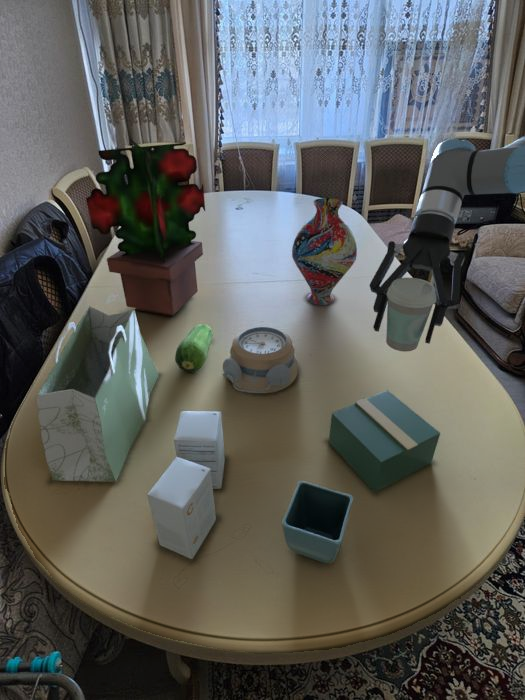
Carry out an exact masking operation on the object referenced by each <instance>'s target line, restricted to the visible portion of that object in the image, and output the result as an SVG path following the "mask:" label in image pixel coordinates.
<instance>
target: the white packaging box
mask: <svg viewBox="0 0 525 700" xmlns="http://www.w3.org/2000/svg"><path fill="white" fill-rule="evenodd" d="M174 433H175V434H174V437H173V443H174V444H173V445H174V448H175V455H176V457H179V458H182V459H185V460H188V461H191V462H193V463H196V464H199V465H202V466H204V467H207V468H210V469H211V478H212V487H213V490H220V489H222V485H223V479H224V471H225V470H224V469H225V461H226V457H225V446H224V433H223V421H222V411H207V410H206V411H204V410H203V411H201V410H200V411H199V410H195V411H193V410H186V411H184V410H183V411H180V414H179V418H178V422H177V426H176V429H175V432H174Z"/></svg>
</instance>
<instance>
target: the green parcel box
mask: <svg viewBox="0 0 525 700" xmlns="http://www.w3.org/2000/svg"><path fill="white" fill-rule="evenodd" d="M330 417H331V418H330V425H329V426H330V427H329V436H328V444H329V445H330V446H331V447H332V448H333V450H335V451H336V452H337V453H338V455H340V457H341V458H342V459H343V461H345V462H346V463H347V464H348V465H349V466H350V468H352V470H353V471H354V472H355V473H356V474H357V475H358V476H359V477H360V478H361V479H362V481H364V483H365V484H366V485H367V486H368V487H369V488H370V489H371V490H372V491H373V493H377V492H379V491H381V490H383V489H385V488H387V487H388V486H391V485H392V484H395V483H396V482H398V481H399V480H403V478H405V477H408V476H410V475H411V474H413V473H415V472H417V471H419V470H420V469H423V468H424V467H426V466H428V465H430V464H432V462H433V458H434V456H435V452H436V450H437V446H438V445H437V444H438V442H439V439H440V436H441V432H440V431H438V429H436V428H435V427H434V426H432V424H430V423H429V422H427V421H426V420H425V419H424V418H423V417H422V416H420V415H419V414H418V413H416V411H414V410H412V408H410V407H409V406H408V405H407V404H405V403H404V402H403V401H402V400H400V399H399V398H398V397H397V396H395V395H394V394H393V393H392V392H391V391H390V390H388V389H387V390H384V391H381V392H380V393H377V394H374V395H372V396H369V397H368V398H365V397H363V398H360V399H357V400H356V401H354V403H353V404H351V405H348V406H346V407H343V408H340V409H339V410H336V411H334V412H331V416H330Z"/></svg>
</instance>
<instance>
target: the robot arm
mask: <svg viewBox="0 0 525 700" xmlns="http://www.w3.org/2000/svg"><path fill="white" fill-rule="evenodd" d="M424 180H425V181H424V185H423V188H422V192H421V194H420V197H419V200H418V203H417V207H416V210H415V213H414V218H413V220H412V223H411V226H410V230H409V232H408V233H409V234H408V237H407V239H406V240H405V241H404V242H403V243H396V242H395V241H394V240H391V241H389V242H388V244H387V250H386V254H385V255H384V257H383V259H382V260H381V263H380V265H379V266H378V268H377V270H376V272H375V273H374V276H373V278H371V281H370V283H369V289H370V292H371V293H374V294H375V295H376V297H375V300H374V304H373V312H374V313H377V314H376V316H375V320H374V323H373V330H374V332H377V333H378V332H379V331H380V328H381V325H382V322H383V319H384V315H385V311H386V308H387V306H388V297H387V291H388V288H389V287H390V286H391V284H392V282H393V281H394V280H396V279H400V278H404V276H405V275H406V274H407V273H409V271H410V270H411V269H415V270H419V269H420V270H421V269H422V270H423V271H427V272H431V275H432V279H433V283H434V287H435V293H436V296H437V297H436V298H437V303H438V304H434V307H433V312H432V315H431V317H430V322H429V325H428V329H427V333H426V336H425V341H424V342H425V344H427V345H430V343H431V340H432V336H433V333H434V330H435V326H437V327H441V326H442V325H443V322H444V319H445V316H446V312H447V311H448V310H450V309H451V310H452V309H453V310H456V309H458V308H459V306H460V300H461V299H460V298H461V297H460V296H461V275H462V274H461V273H462V266H463V264H464V262H465V258H466V253H465V252H463V251H461V252H458V253H457V252H454V251H451V248H450V247H451V246H450V245H451V243H452V239H453V236H454V232H455V229H456V224H457V221H458V217H459V215H460V210H461V207H462V203H463V200H464V197H465V196H466V195H467V196H469V195H471V196H475V195H495V194H514V195H516V194H518V195H519V194H521V193H525V135H523V136H521V137H519V138H518V139H515V140H514V141H513V142H510V143H509V144H507V145H505V146H504V147H497V148H490V149H482V150H476V147H475V145H474V144H473V143H472V142H471V141H469V140H467V139H459V138H457V137H453V138H449V139H446V140H444V141H442V142H440V143H439V144H438V145H437V147H436V148H435V150H434V151H433V156H432V157H431V160H430V162H429V164H428V168H427V174H426V177H425V179H424ZM400 252H403V254H404V256H405V257H404V259H403V260H402V261H401V263H400V264H399V265H398V266H397V268H395V269H394V271H392V273H391V274H390V275H389V276H388V277H387V279H385V281H384V278H385V276H386V275H387V274H388V271H389V269H390V268H391V266H392V264H393V262H394V259H395V257H396V256H397V257H398V255H399V254H400ZM448 259H449V260H450V265H451V266H453V267H452V275H451V276H452V279H451V281H452V282H451V297H450V298H451V299H448V297H447V293H446V288H445V285H444V281H443V276H442V272H441V264H443V263H444V262H446V261H447V260H448ZM382 282H383V283H382Z"/></svg>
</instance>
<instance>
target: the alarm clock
mask: <svg viewBox="0 0 525 700" xmlns="http://www.w3.org/2000/svg"><path fill="white" fill-rule="evenodd" d="M295 350H296V349H295V346H294V344H293V339H292V338H291V337H290V335H288V333H286V332H284V331H282V330H280V329H278V328H275V327H267V326H259V327H258V326H257V327H252V328H247V329H245V330H242V331H240V332H239V333H238V334H237V335H235V337H234V338H233V339H232V343H231V345H230V350H229V352H230V355H229V357H228V358H225V359H224V361H223V363H222V370H223V373H222V377H226V378H227V379H228V380H229V381H231V383H232V386H233V388H234V389H235V390H237V391H238V392H239V391H240V392H243V393H247V394H249V393H250V394H270V393H276V392H279V391H282V390H284V389H286V388H287V387H289V386H290V385H291V384H293V382H295V380H296V378H297V376H298V364H299V363H298V362H299V361H298V359H297V356H296V354H295V352H296V351H295Z"/></svg>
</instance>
